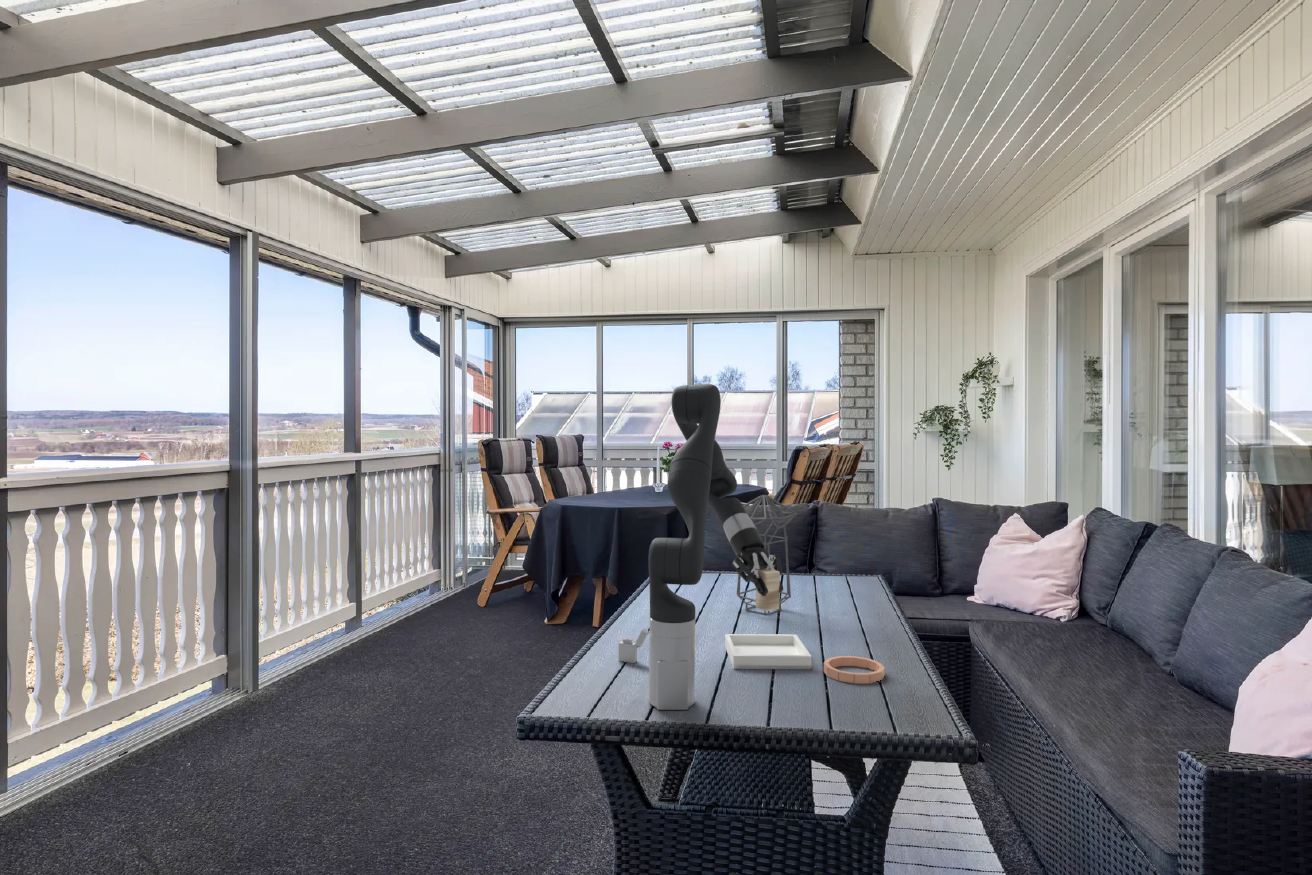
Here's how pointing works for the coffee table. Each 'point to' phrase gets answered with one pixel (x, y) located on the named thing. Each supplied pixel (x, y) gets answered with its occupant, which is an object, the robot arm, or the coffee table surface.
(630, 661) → the lighter
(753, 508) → the geometric lantern
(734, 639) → the tray
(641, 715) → the coffee table surface
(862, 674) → the orange ring
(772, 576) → the birch block
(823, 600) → the coffee table surface
